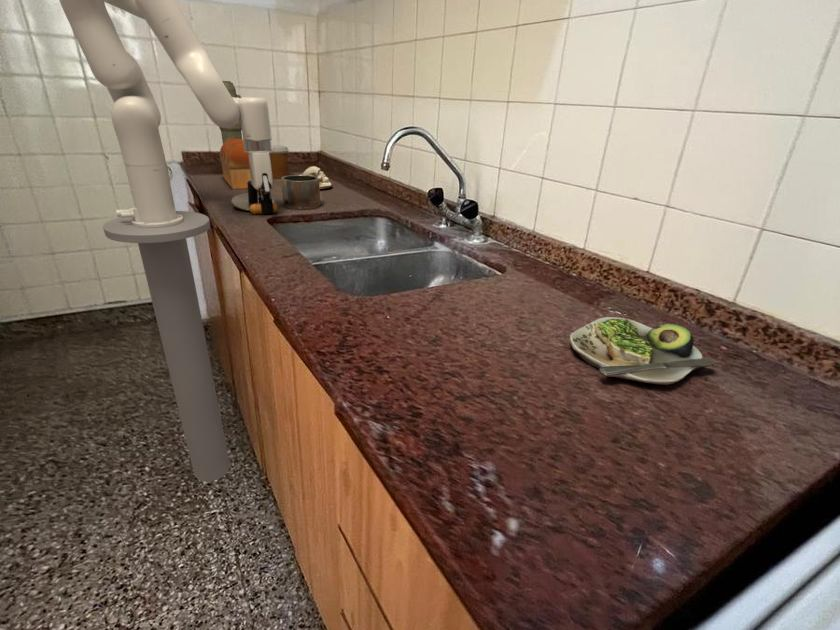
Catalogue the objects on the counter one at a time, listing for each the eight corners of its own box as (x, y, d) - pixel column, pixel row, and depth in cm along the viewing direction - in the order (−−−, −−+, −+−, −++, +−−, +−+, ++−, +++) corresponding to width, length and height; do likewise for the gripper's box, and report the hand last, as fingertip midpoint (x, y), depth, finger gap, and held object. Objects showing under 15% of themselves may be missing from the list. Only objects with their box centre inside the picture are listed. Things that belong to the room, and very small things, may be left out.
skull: (337, 182, 177) (332, 164, 167) (331, 204, 173) (326, 187, 164) (307, 179, 178) (300, 161, 168) (301, 201, 174) (294, 184, 164)
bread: (222, 177, 182) (216, 138, 175) (254, 176, 187) (250, 138, 181) (232, 189, 162) (226, 145, 156) (267, 187, 168) (263, 145, 161)
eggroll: (251, 215, 131) (249, 205, 129) (249, 213, 133) (248, 203, 132) (279, 213, 134) (278, 203, 133) (277, 211, 137) (276, 201, 135)
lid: (235, 214, 132) (233, 190, 128) (229, 196, 141) (227, 174, 137) (278, 212, 138) (277, 190, 134) (270, 195, 146) (269, 174, 142)
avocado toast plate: (658, 415, 55) (669, 384, 53) (540, 352, 67) (546, 325, 65) (721, 366, 66) (732, 339, 64) (610, 320, 78) (616, 296, 76)
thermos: (251, 174, 191) (240, 81, 176) (221, 174, 188) (207, 80, 172) (251, 170, 199) (240, 81, 183) (222, 171, 195) (209, 80, 179)
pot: (288, 210, 138) (285, 182, 134) (280, 202, 147) (278, 175, 143) (324, 208, 143) (323, 180, 139) (315, 200, 152) (313, 174, 148)
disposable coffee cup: (286, 179, 184) (283, 148, 179) (263, 178, 184) (260, 147, 179) (293, 175, 192) (291, 146, 187) (272, 174, 193) (269, 144, 187)
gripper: (240, 143, 130) (249, 206, 139) (248, 150, 117) (258, 219, 126) (267, 142, 134) (274, 204, 142) (277, 149, 121) (285, 217, 129)
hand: (266, 211), depth 134 cm, fingers closed on eggroll, 3 cm apart
